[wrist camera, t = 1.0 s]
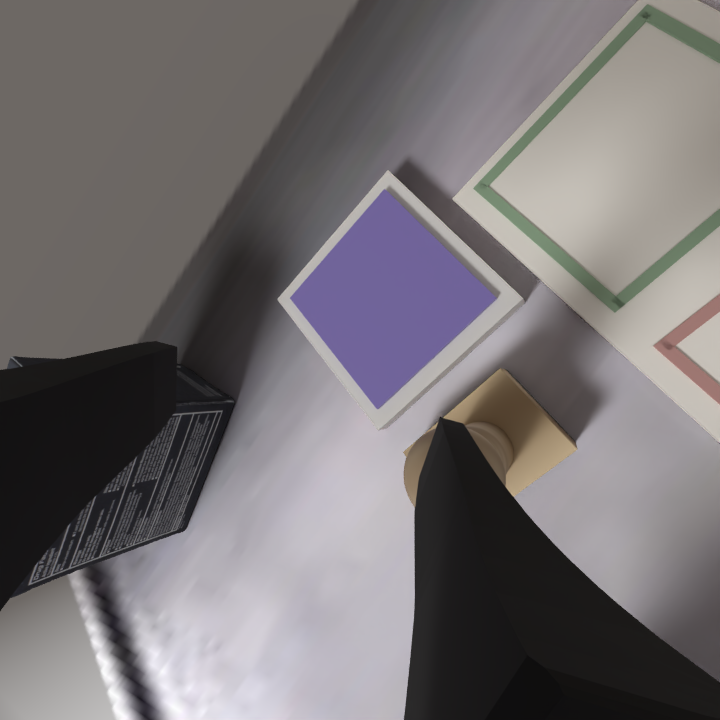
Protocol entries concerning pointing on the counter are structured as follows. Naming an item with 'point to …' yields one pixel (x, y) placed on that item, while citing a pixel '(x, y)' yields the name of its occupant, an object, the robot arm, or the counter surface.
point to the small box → (143, 485)
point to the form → (627, 196)
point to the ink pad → (396, 301)
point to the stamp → (501, 434)
